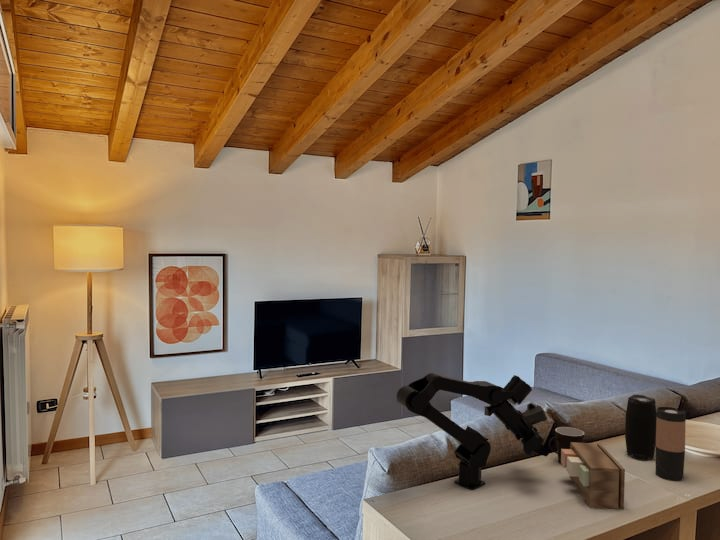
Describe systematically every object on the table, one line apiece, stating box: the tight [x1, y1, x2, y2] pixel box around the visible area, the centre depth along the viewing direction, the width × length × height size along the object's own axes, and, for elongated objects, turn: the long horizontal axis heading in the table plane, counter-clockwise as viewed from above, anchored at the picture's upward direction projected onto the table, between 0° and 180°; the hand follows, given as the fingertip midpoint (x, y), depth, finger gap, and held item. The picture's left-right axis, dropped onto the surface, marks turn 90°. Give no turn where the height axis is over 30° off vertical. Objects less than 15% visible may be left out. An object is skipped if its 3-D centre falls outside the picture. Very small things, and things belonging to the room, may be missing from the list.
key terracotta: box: [561, 449, 576, 469], centre depth 156 cm, size 6×4×4 cm, turn 84°
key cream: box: [566, 457, 583, 477], centre depth 150 cm, size 6×4×4 cm, turn 84°
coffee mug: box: [548, 426, 585, 465], centre depth 171 cm, size 12×9×10 cm
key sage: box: [579, 465, 590, 486], centre depth 143 cm, size 6×4×4 cm, turn 84°
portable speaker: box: [624, 394, 657, 461], centre depth 176 cm, size 9×9×20 cm
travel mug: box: [655, 406, 687, 482], centre depth 161 cm, size 8×8×20 cm
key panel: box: [569, 442, 626, 510], centre depth 149 cm, size 8×19×11 cm, turn 174°
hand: (547, 455), depth 156 cm, fingers closed
